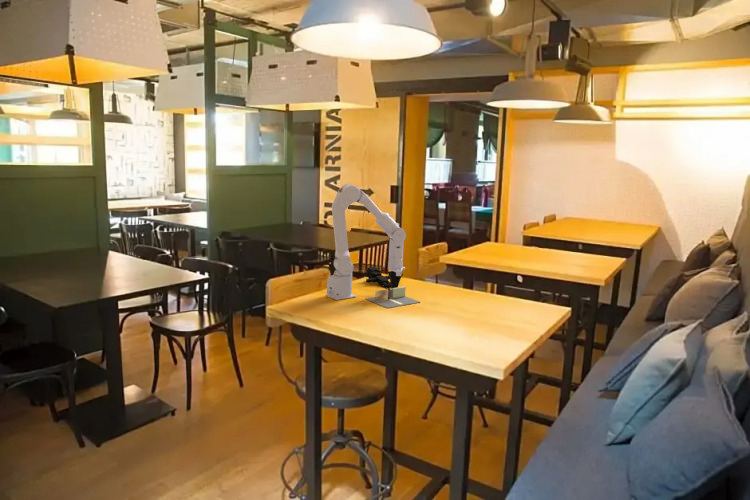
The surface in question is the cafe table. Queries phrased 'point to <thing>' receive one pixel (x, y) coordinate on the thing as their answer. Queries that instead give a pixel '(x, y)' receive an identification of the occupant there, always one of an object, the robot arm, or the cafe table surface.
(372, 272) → the toy
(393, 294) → the fence panel
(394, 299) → the card
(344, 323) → the cafe table surface
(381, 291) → the block
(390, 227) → the robot arm
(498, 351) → the cafe table surface
